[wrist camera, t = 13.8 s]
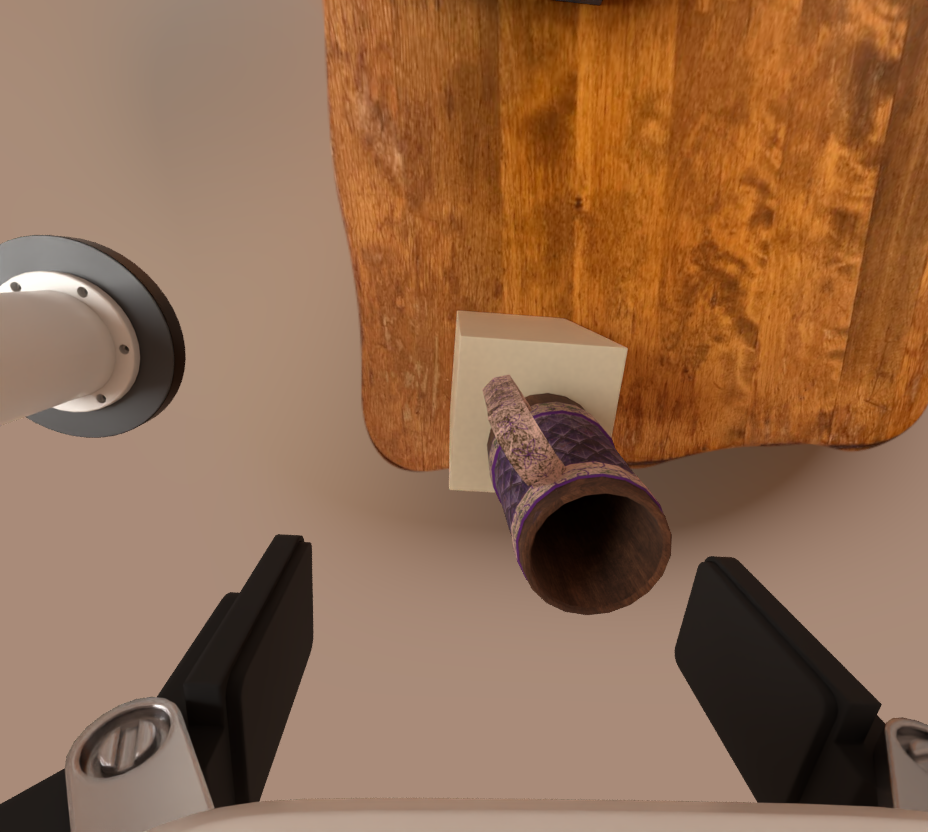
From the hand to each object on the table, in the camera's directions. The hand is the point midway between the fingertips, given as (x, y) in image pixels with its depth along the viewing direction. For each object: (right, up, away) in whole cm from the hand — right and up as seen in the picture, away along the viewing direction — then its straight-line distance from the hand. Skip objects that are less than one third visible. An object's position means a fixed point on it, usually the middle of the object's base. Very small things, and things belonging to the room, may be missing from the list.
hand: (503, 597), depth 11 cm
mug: (+3, +4, +18) cm, 18 cm away
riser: (+3, +9, +33) cm, 34 cm away
